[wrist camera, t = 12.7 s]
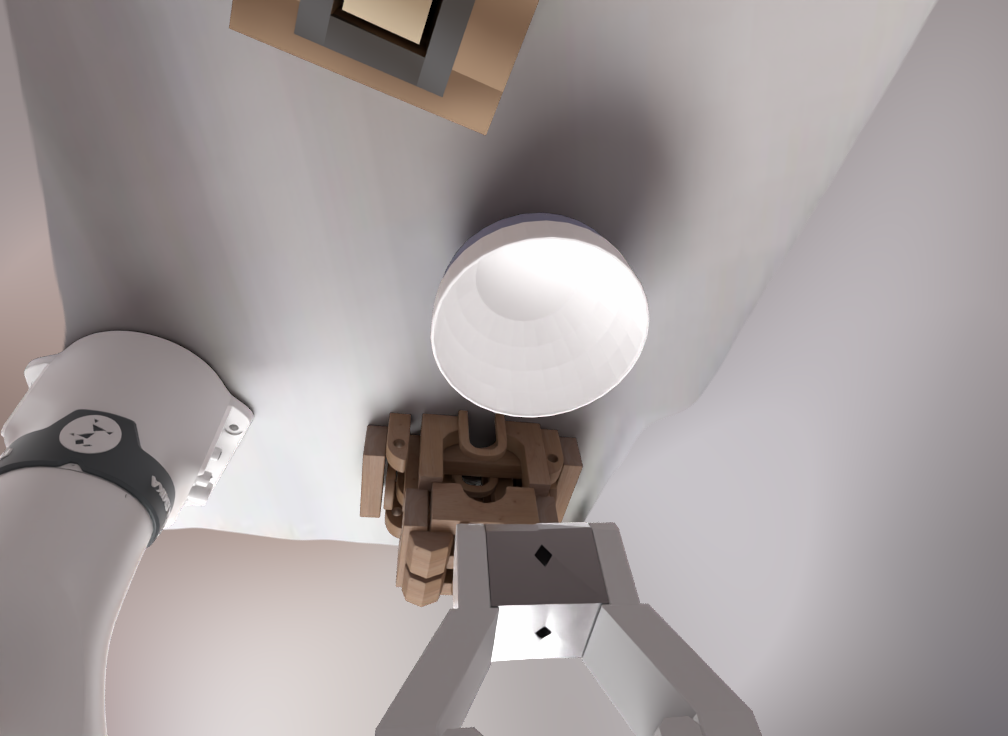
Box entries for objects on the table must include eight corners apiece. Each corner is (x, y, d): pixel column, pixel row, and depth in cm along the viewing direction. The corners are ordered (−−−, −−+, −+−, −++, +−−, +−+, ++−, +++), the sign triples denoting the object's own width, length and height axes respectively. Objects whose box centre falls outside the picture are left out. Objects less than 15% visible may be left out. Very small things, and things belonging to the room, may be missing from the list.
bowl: (583, 359, 56) (605, 429, 49) (418, 333, 53) (414, 404, 45) (647, 204, 47) (686, 260, 39) (452, 161, 43) (453, 213, 36)
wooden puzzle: (363, 497, 66) (340, 664, 51) (369, 401, 57) (343, 569, 43) (550, 507, 70) (578, 665, 55) (582, 419, 61) (626, 579, 47)
